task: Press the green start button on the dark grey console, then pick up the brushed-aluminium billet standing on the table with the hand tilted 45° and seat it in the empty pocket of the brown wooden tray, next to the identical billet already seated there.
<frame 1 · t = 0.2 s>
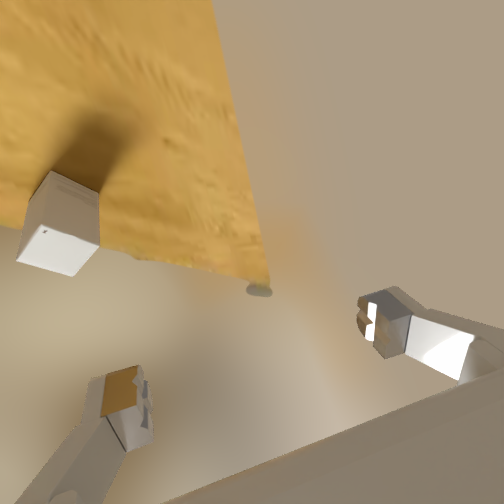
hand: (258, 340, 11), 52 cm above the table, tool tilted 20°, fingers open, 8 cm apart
supplement box: (64, 197, 60), on the table
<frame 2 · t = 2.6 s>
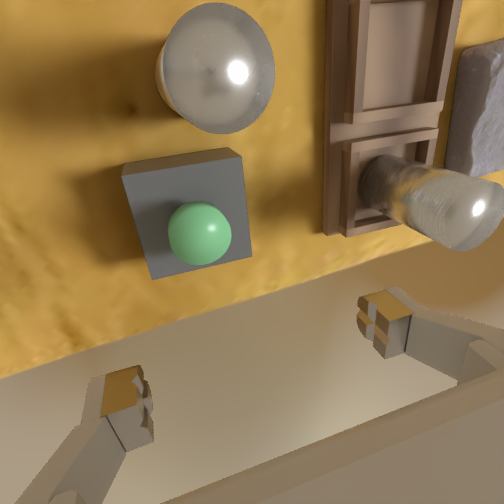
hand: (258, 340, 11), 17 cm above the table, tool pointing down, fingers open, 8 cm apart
start button: (195, 223, 22), point 5 cm above the table, slide at 0.0 cm
stone block: (485, 107, 31), on the table
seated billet: (380, 181, 30), point 1 cm above the table, touching brown wooden tray
brown wooden tray: (379, 123, 28), on the table
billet: (191, 78, 22), on the table
console: (187, 204, 26), on the table
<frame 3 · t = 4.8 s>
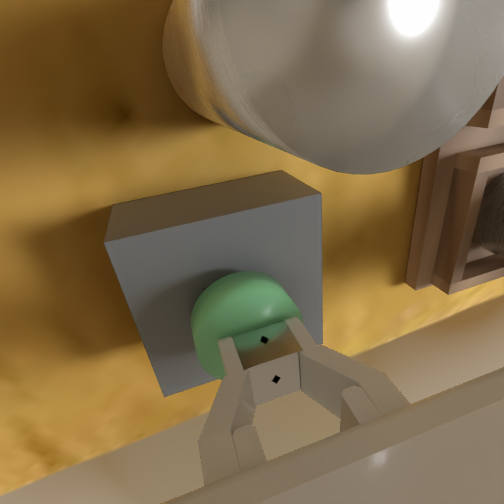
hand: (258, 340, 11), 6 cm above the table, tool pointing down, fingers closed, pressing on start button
start button: (234, 300, 13), point 4 cm above the table, slide at 0.8 cm, touching gripper
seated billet: (498, 210, 20), point 1 cm above the table, touching brown wooden tray
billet: (227, 55, 13), on the table
console: (216, 259, 17), on the table
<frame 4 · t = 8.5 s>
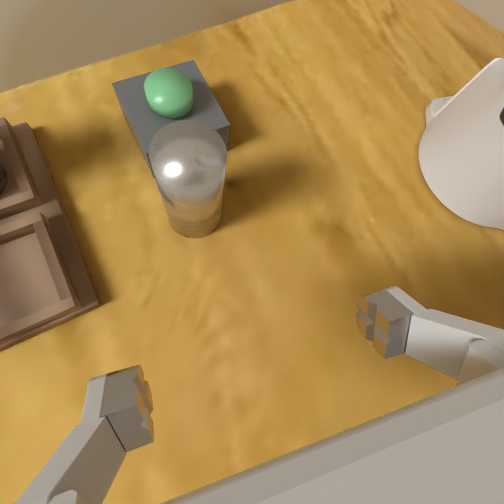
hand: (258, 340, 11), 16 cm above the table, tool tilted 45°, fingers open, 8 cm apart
start button: (171, 108, 29), point 3 cm above the table, slide at 1.0 cm
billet: (194, 213, 30), on the table
console: (175, 132, 32), on the table
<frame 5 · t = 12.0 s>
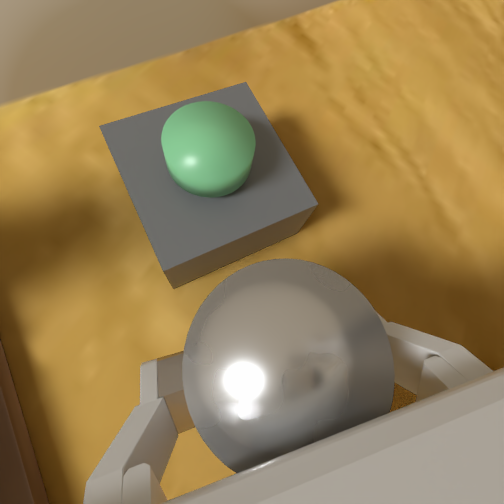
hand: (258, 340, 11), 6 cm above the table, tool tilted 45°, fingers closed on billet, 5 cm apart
start button: (209, 170, 16), point 3 cm above the table, slide at 1.0 cm
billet: (246, 356, 17), on the table, touching gripper
console: (209, 202, 19), on the table
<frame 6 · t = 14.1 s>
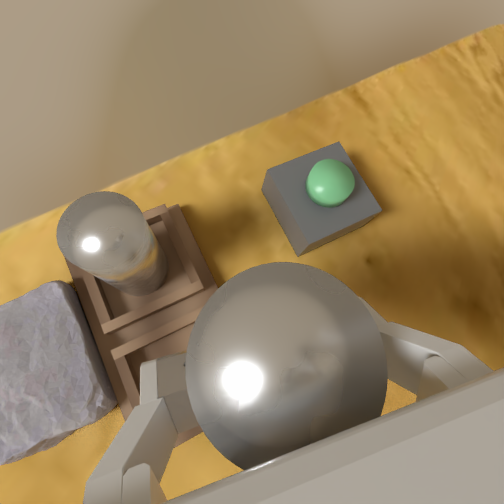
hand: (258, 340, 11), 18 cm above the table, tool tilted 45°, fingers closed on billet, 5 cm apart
start button: (323, 192, 30), point 3 cm above the table, slide at 1.0 cm
stone block: (43, 369, 27), on the table
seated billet: (140, 268, 28), point 1 cm above the table, touching brown wooden tray
brown wooden tray: (163, 320, 28), on the table
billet: (246, 356, 17), point 12 cm above the table, touching gripper
console: (312, 207, 33), on the table
when the fingers open (8 cm above the table, at t = 16.5 s): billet stays where it is, resting on brown wooden tray.
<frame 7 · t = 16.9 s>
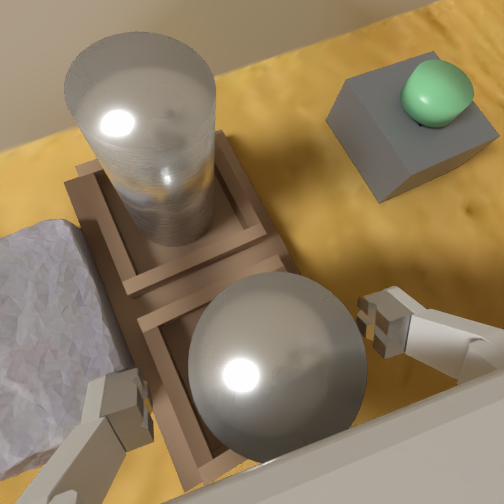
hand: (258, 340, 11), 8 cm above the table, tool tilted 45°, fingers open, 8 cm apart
start button: (418, 113, 22), point 3 cm above the table, slide at 1.0 cm
stone block: (38, 348, 18), on the table
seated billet: (174, 210, 20), point 1 cm above the table, touching brown wooden tray
brown wooden tray: (206, 282, 20), on the table
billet: (243, 355, 18), point 1 cm above the table, touching brown wooden tray
console: (391, 144, 25), on the table
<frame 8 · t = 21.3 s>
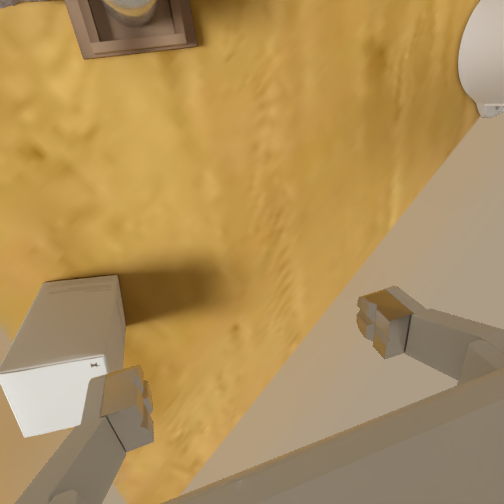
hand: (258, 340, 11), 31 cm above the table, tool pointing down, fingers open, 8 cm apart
supplement box: (87, 304, 43), on the table
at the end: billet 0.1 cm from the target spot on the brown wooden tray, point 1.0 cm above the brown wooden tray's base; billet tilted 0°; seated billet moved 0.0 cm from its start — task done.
